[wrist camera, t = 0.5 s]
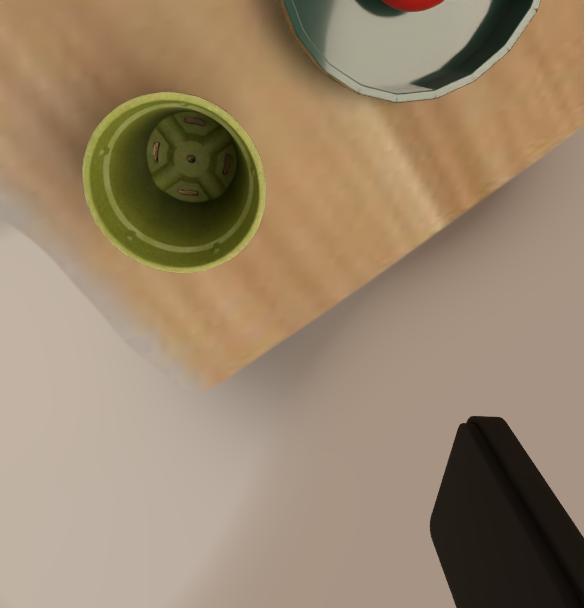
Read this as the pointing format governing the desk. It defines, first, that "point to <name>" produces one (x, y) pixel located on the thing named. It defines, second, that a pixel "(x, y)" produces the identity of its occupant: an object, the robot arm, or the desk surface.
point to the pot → (406, 43)
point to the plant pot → (174, 182)
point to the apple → (412, 4)
